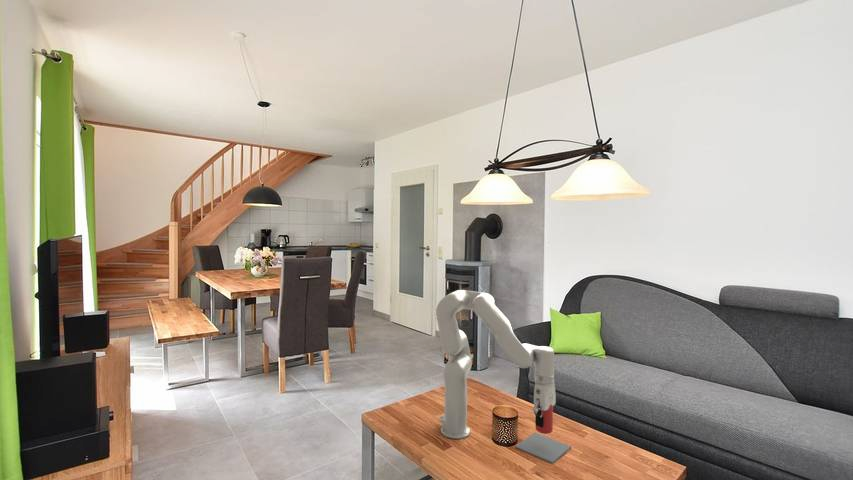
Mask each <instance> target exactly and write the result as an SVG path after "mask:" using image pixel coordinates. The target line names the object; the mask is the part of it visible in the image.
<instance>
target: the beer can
mask: <svg viewBox="0 0 853 480" xmlns="http://www.w3.org/2000/svg"><path fill="white" fill-rule="evenodd" d="M538 408H541V407H540V406H539V407H538ZM538 411H539V412H540V413H541V410H539V409H538ZM553 414H554V406H552V404H551V405H550V406H549V409H548V410H546V411H544V412H543V417H544V427H539V426H536V425H535V431H536V432H537V433H539V434H542V435H543V434H544V435H549V434H551V433H552V432H553V430H554V429H553V428H554V427H553V425H554V424H553V422H554V420H553V419H554V418H553V417H554V416H553Z"/></svg>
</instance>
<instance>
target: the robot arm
mask: <svg viewBox="0 0 853 480" xmlns="http://www.w3.org/2000/svg"><path fill="white" fill-rule="evenodd" d="M462 310H469V311H473V312H474V313H475V315H476V316H477V317H478V318H479V319H480V320H481V321H482V322H483V324H484V325H485V326H486V327H487V329H489V331H490V332H491V334H493V336H494V338H495V340H496V342H497V343H498V344H499V346H500V347H501V350H503V352H504V353H505V354H506V356H507V357H508V358H509V359H510V361H512V362H513V364H514V365H515V366H517V367H518V368H521V369H528V368H529V367H531V366H532V365H533V363H534V390H533V407H532V411H533V413H534V416H535V418H534V419H535V422H534V423H535V424H534V425H535V427H536V426H539V427H544V417H543V412H544V411H546V410H548V409H549V406H550V405H551V404H552V406H553V407H554V406H555V405H556V404H557V403H556V402H557V400H556V398H557V396H556V395H557V394H556V385H555V350H554V348H552V347H550V346H547V345H540V346H539V345H535V344H530V343H525V342H524V343H521V341H520V340H519V339H518V337H517V336H516V335H515V333H514V331H513V328H512V324H511V322H510V320H509V319H508V317H506V316H505V315H504V313H503V312H502V311H501V310H500V309H499V307H497V306H496V302H495V298H494V296H493V295H491V294H490V293H487V292H481V291H475V290H466V289H457V290H455V291H452V292H450V293H449V294H447V295H445V296H444V297H442V298H441V300H440V301H439V302H438V304H437V306H436V309H435V315H436V321H437V322H436V323H437V326H438V333H439V338H440V345H441V348H442V351H443V353H444V354H445V355H446V356H450V359H449V360H448V361H447V362H446V364H445V366H444V369H443V381H444V415H443V414H441V415H440V416H439V419H438V422H439V423H441V424H442V425H441V427H440V433H441V435H442V436H444V437H447V438H449V439H454V440H455V439H458V440H460V439H464V438H468V437H469V436H470V435H471V429H470V427H469V426H468V425H467V423H468V421H467V419H468V418H467V417H468V410H467V409H468V386H467V385H468V383H467V376H468V373H470V371H471V369H472V365H473V359H472V354H471V349H470V344H469V340H468V337H467V334H466V333H465V332H464V331H463V330H462V329H460V328H459V324H458V320H457V316H456V314H457V313H458V312H459V313H460V311H462ZM539 406H540V407H541V408H538V407H539ZM538 409H539V410H541V413H540V412H539V411H538Z"/></svg>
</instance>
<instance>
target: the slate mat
mask: <svg viewBox="0 0 853 480" xmlns="http://www.w3.org/2000/svg"><path fill="white" fill-rule="evenodd" d="M514 448H515V449H517V450H520V451H521V452H525V453H526V454H528V455H532V456H534V457H536V458H538V459H541V460H543V461H545V462H548V463H550V464H554V463H556V462H557V461H558V460H559V459H560V458H562V456H563V455H565V454H566V453H567V452H568V451H569V450H571V449H572V446H571V445H569V444H566V443H564V442H562V441H559V440H557V439H553V438H552V437H548V436H546V435H543V434H542V433H539V432H534V433H532V434H530V435H529V436H528V437H526V438H525V439H523V440H522V441H520V442H519V443H517V444H516V445H515V446H514Z"/></svg>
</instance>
